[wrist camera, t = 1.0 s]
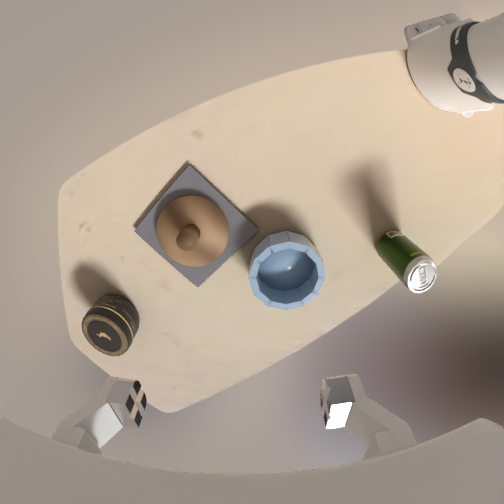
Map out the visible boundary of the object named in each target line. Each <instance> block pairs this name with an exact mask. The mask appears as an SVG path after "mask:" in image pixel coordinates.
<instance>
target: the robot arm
mask: <svg viewBox="0 0 504 504" xmlns="http://www.w3.org/2000/svg"><path fill="white" fill-rule="evenodd" d="M415 29H416V30H417V32H416V31H415ZM404 31H405V36H406V39H407V42H408V50H407V63H408V68H409V71H410V74H411V77H412V79H413V81H414V83H415V85H416V87H417V88H418V90H419V91H420V93H421V94H422V95H423V96H424V97H425V98H426V99H427V100H428V101H429V102H430V103H431V104H432V105H434V106H435V107H437V108H439V109H441V110H444V111H450V112H458V113H459V114H461V115H462V116H464V117H466V118H469V117H472V116H473V114H474V113H475V111H482V110H490V109H492V108H493V105H494V104H504V13H502V14H500V15H498V16H495V17H493V18H491V19H488V20H485V21H483V22H475V21H473V20H471V19H466V20H462V19H461V18H460V17H458V16H457V15H455V14H452V13H450V14H448V15H444V16H440V17H437V18H433V19H429V20H426V21H423V22H420V23H416V24H413V25H410V26H407V27H405V30H404ZM322 387H323V389H322V390H321V393H320V403H321V409H322V410H323V411H324V422H325V427H326V429H330V428H338V427H345V428H346V429H347V430H348V431H349V432H350V433H351V434H352V435H353V436H354V437H355V438H357V439H358V440H359V441H360V442H361V443H362V444H363V445H364V446H365V447H366V448H367V449H368V450H367V452H366V453H365V455H364V457H363V458H362V460H361V461H357V462H352V463H348V464H342V465H338V466H331V467H325V468H319V469H311V470H302V471H293V472H282V473H281V472H280V473H263V474H223V473H203V472H191V471H181V470H173V469H165V468H158V467H153V466H146V465H141V464H136V463H131V462H127V461H122V460H118V459H114V458H110V457H106V455H105V454H104V453H103V451H102V450H101V449H100V447H102V446H103V445H104V444H105V443H106V442H107V441H108V440H109V439H110V438H111V437H112V436H114V435H115V434H116V433H117V432H118V431H119V430H120V429H121V428H122V427H123V426H128V427H135V428H139V426H140V423H141V420H142V416H141V413H142V412H143V411H145V408H146V401H147V399H146V395H145V393H144V391H142V390H141V389H140V388H141V384H140V382H139V381H138V380H131V379H124V378H117V377H108V378H107V380H106V382H105V384H104V386H103V387H102V389H101V391H100V393H99V396H98V397H97V400H93V401H91V402H89V403H88V404H87V405H85V406H83V407H82V408H80V409H79V410H77V411H75V412H74V413H72V414H71V415H69V416H67V417H66V418H64V419H63V420H61V421H60V423H59V425H58V427H57V429H56V431H55V433H54V435H53V437H52V439H51V438H49V437H46V436H44V435H41V434H39V433H36V432H34V431H32V430H30V429H28V428H26V427H23V426H21V425H19V424H17V423H15V422H13V421H11V420H9V419H7V418H5V417H0V504H504V427H502V426H500V425H498V424H496V423H493V422H492V421H489V420H487V419H484V418H480V419H477V420H475V421H472V422H470V423H468V424H466V425H464V426H462V427H460V428H458V429H455V430H453V431H451V432H449V433H446V434H444V435H441V436H439V437H436V438H434V439H432V440H428V441H426V442H423V443H420V444H417V443H416V441H415V438H414V436H413V434H412V431H411V429H410V427H409V425H408V424H407V423H406V422H405V421H403V420H401V419H400V418H398V417H397V416H395V415H394V414H392V413H391V412H389V411H388V410H386V409H385V408H383V407H382V406H380V405H379V404H377V403H376V402H374V401H372V400H371V399H369V400H368V399H367V397H366V394H365V391H364V389H363V386H362V384H361V381H360V379H359V376H358V375H357V374H349V375H342V376H337V377H329V378H323V380H322Z"/></svg>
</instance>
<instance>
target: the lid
mask: <svg viewBox="0 0 504 504" xmlns="http://www.w3.org/2000/svg"><path fill="white" fill-rule="evenodd" d="M228 236H229V226H228V222H227V219H226V216H225V215H224V213H223V211H222V210H221V209H220V208H219V206H218V205H216V204H215V203H214V202H213V201H211V200H209V199H207V198H205V197H202V196H198V195H186V196H181V197H179V198H177V199H175V200H173V201H172V202H170V203H169V204H168V205H167V206H166V207H165V208H164V209H163V210H162V212H161V214H160V216H159V218H158V221H157V238H158V241H159V243H160V246H161V247H162V249H163V251H164V252H165V253H166V254H167V255H168V256H169V257H170V258H171V259H173V260H174V261H176V262H178V263H180V264H182V265H185V266H192V267H198V266H204V265H207V264H209V263H211V262H213V261H215V260H216V259H217V258H218V257H219V256H220V255H221V254H222V252H223V251H224V249H225V247H226V244H227V241H228Z"/></svg>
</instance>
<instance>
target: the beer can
mask: <svg viewBox="0 0 504 504" xmlns="http://www.w3.org/2000/svg"><path fill="white" fill-rule="evenodd" d="M377 252H378V255H379V256H380V257H381V258H382V259H383V261H384V262H385V263H386V264H387V265H388V266H389V267H390V269H391V270H392V271H393V272H394V273H395V274H396V275H397V277H398V278H399V279H400V280H401V281H402V282H403V284H404V285H405V286H406V287H407V288H408V289H410V290H411V291H413V292H415V293H421V292H424V291H426V290H427V289H429V288H430V287H431V286H432V285H433V283H434V281H435V279H436V276H437V266H436V265H435V263H434V261H433V260H432V258H431V257H430V256H428V255H427V254H426V253H425V252H424V251H422V250H421V249H420V248H419V247H418V246H416V245H415V244H414V243H413V242H411V241H410V240H409V239H408V238H407V237H405V236H404V235H403V234H401V233H400V232H398V231H396V230H390V231H386V232H384V233H383V234H382V235H381V236H380V237H379V239H378V241H377Z"/></svg>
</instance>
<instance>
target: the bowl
mask: <svg viewBox="0 0 504 504" xmlns="http://www.w3.org/2000/svg"><path fill="white" fill-rule="evenodd" d="M249 280H250V283H251V287H252V290H253V293H254V295H255V296H256V297H258V298H259V299H260V300H261V301H262V302H263V303H265V304H266V305H268V306H270V307H274V308H279V309H283V310H285V309H286V310H287V309H292V308H296V307H301V306H304V305H306V304H307V303H308V302H309V301H311V300H312V299H313V298H314V297H316V296H317V295H318V294H319V292H320V290H321V287H322V285H323V282H324V280H325V272H324V266H323V260H322V258H321V256H320V254H319V252H318V250H317V248H316V247H315V246H314V245H313V244H312V243H311V242H310V241H309V240H308V238H307V237H306V236H304V235H301V234H297V233H294V232H290V231H283V232H279V233H275V234H271V235H268V236H267V237H265V238H264V239H263V240H262V241H261V242H260V243H259V244H258V245H257V246H256V247H255V248H254V251H253V254H252V257H251V261H250V266H249Z"/></svg>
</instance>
